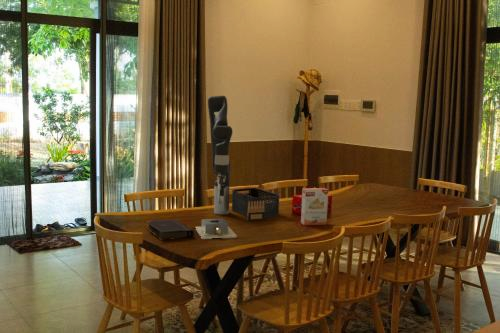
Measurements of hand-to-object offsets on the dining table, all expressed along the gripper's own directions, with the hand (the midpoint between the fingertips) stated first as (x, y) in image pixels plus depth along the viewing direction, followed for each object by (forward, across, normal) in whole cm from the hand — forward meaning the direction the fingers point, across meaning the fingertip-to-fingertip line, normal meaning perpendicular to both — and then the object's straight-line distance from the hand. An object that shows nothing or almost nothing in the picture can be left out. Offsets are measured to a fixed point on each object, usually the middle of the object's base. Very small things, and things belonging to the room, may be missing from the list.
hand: (221, 195), depth 302 cm
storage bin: (+19, -41, +31) cm, 55 cm away
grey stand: (+20, +3, -3) cm, 20 cm away
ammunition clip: (+20, -21, +26) cm, 39 cm away
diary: (+21, -1, -27) cm, 34 cm away
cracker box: (+20, -6, +57) cm, 61 cm away
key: (+4, 0, 0) cm, 4 cm away
